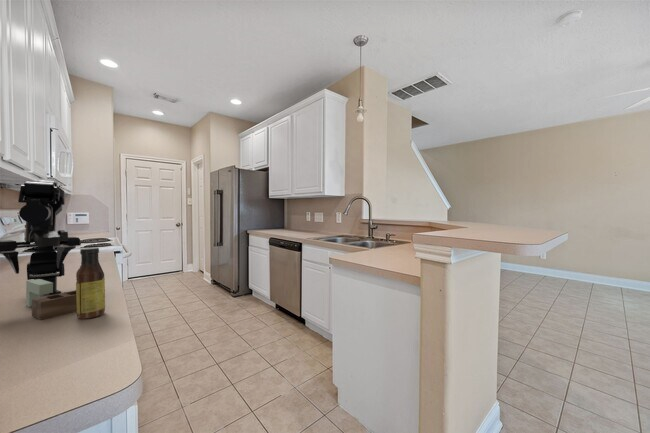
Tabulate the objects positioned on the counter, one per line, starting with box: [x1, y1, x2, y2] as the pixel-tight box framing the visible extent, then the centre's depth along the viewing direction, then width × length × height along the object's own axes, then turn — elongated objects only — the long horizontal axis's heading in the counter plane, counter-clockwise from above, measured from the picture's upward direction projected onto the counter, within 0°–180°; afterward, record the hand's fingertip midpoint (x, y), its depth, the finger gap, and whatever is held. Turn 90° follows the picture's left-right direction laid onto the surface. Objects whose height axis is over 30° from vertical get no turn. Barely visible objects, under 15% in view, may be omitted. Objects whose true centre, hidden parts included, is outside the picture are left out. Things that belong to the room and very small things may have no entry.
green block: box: [25, 279, 53, 308], centre depth 82 cm, size 10×3×8 cm, turn 64°
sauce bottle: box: [75, 247, 106, 320], centre depth 76 cm, size 6×6×20 cm
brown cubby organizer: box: [31, 289, 77, 321], centre depth 79 cm, size 6×12×5 cm, turn 154°
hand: (39, 270), depth 82 cm, fingers open, 9 cm apart
